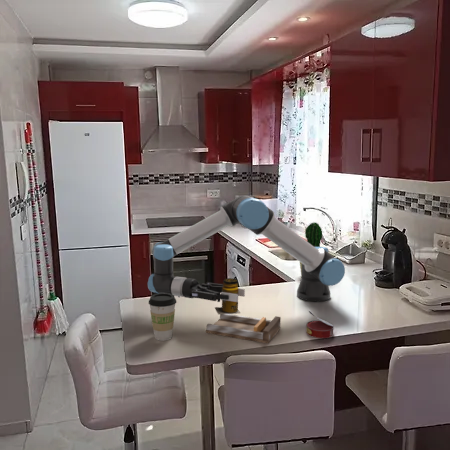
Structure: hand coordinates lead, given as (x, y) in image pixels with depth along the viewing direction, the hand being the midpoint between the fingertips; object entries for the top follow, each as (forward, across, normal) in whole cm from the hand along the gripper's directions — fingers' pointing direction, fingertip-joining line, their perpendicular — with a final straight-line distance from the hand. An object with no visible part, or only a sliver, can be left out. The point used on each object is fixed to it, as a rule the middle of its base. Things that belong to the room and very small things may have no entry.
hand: (241, 295), depth 165 cm
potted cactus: (+10, -81, -13) cm, 83 cm away
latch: (+8, 0, -12) cm, 14 cm away
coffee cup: (-23, +17, -14) cm, 32 cm away
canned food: (+28, -9, -14) cm, 32 cm away
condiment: (-5, 0, -7) cm, 9 cm away
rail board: (+1, 0, -13) cm, 13 cm away
